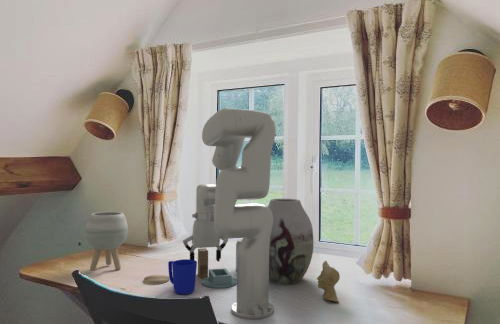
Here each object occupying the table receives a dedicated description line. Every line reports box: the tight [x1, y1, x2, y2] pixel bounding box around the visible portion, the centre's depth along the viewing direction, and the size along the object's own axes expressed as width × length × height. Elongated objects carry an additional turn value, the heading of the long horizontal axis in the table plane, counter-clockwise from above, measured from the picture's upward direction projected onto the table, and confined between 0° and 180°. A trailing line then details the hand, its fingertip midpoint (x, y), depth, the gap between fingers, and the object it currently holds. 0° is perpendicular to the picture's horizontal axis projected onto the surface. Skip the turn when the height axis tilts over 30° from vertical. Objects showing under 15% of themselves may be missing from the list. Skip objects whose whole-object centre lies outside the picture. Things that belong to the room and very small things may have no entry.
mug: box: [167, 258, 198, 295], centre depth 127 cm, size 8×12×10 cm
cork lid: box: [143, 274, 170, 285], centre depth 138 cm, size 9×9×1 cm
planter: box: [85, 211, 129, 272], centre depth 153 cm, size 16×16×22 cm
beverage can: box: [235, 238, 243, 269], centre depth 154 cm, size 6×6×12 cm
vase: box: [267, 198, 314, 285], centre depth 141 cm, size 21×21×30 cm
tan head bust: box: [316, 260, 341, 303], centre depth 120 cm, size 8×7×12 cm
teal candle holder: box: [201, 267, 237, 289], centre depth 137 cm, size 13×13×4 cm
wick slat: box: [197, 247, 209, 279], centre depth 145 cm, size 5×3×10 cm, turn 18°
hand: (205, 261), depth 144 cm, fingers open, 9 cm apart
